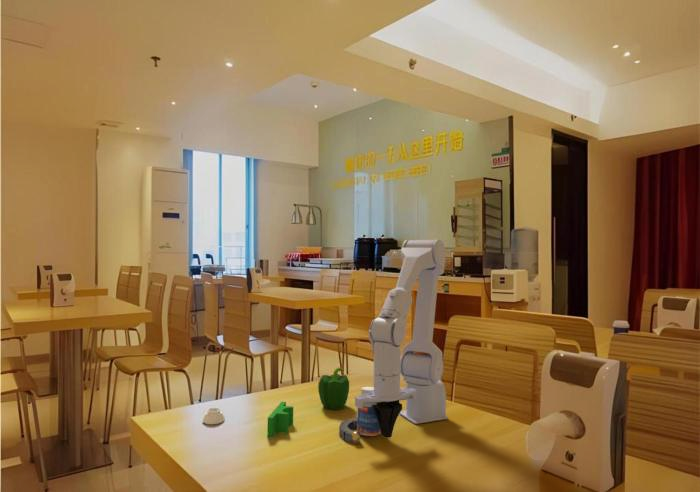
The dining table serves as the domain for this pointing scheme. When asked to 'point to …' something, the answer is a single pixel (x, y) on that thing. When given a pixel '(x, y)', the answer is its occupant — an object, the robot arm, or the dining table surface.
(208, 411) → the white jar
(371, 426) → the pill bottle
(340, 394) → the bell pepper
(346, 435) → the snap ring
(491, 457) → the dining table surface
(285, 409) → the pipe clamp
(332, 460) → the dining table surface
